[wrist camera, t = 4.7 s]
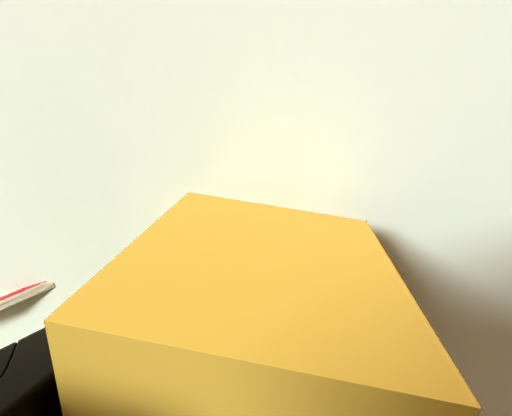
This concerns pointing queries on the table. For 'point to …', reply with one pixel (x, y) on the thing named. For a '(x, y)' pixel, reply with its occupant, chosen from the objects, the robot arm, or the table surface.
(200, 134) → the table surface
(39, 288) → the sunglasses
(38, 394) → the robot arm
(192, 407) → the mustard cube
